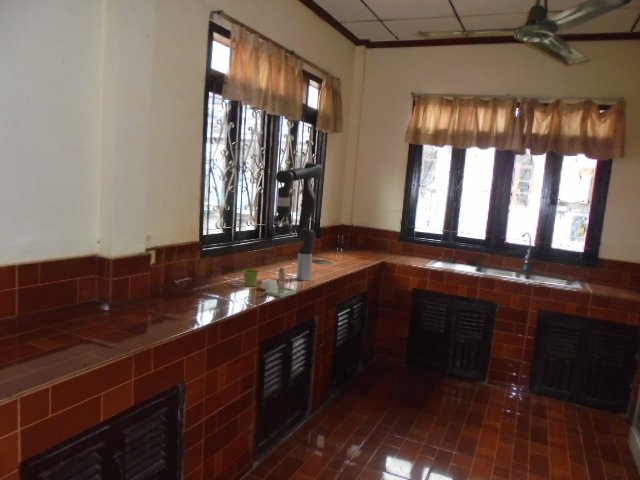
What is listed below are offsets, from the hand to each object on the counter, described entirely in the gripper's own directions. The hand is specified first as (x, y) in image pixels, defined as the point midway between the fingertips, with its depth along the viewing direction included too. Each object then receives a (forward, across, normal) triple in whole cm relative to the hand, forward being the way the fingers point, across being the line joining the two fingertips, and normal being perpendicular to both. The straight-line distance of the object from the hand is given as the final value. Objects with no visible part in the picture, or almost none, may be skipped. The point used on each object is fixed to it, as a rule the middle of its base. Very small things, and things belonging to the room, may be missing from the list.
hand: (281, 232), depth 275 cm
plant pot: (+33, +12, -12) cm, 37 cm away
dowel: (+32, +13, +12) cm, 37 cm away
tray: (+33, +13, +12) cm, 37 cm away
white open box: (+33, +10, +1) cm, 34 cm away
